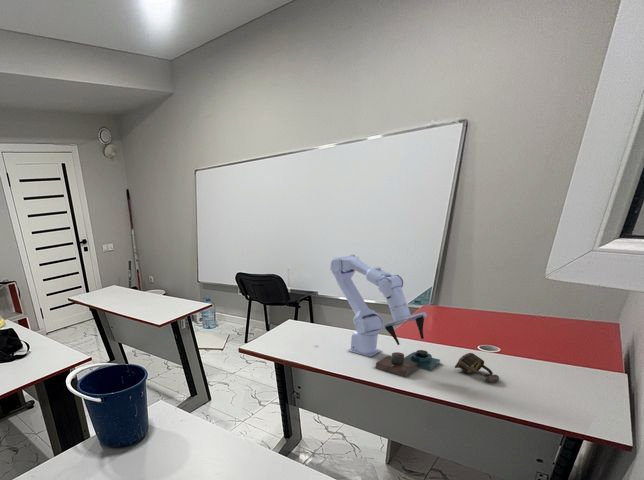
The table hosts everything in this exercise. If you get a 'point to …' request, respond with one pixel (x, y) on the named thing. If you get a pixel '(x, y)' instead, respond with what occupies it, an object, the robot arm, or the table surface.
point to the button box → (423, 361)
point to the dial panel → (397, 366)
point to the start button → (421, 353)
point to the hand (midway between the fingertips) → (410, 341)
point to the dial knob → (397, 358)
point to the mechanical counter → (475, 366)
